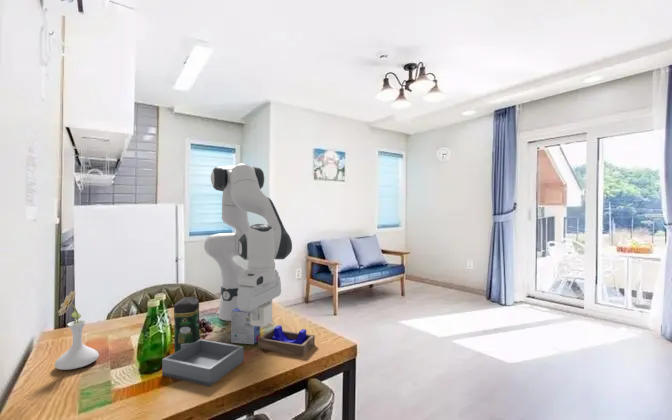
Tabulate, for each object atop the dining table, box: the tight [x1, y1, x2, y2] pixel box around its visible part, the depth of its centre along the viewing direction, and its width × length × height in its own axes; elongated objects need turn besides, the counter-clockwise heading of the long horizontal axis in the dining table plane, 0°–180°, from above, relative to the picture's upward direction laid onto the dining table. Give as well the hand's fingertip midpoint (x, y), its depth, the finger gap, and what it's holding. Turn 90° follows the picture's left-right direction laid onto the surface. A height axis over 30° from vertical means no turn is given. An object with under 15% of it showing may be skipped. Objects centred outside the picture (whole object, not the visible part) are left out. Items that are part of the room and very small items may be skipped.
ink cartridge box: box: [230, 308, 261, 345], centre depth 125 cm, size 10×6×14 cm, turn 78°
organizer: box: [257, 328, 316, 357], centre depth 120 cm, size 10×18×4 cm, turn 70°
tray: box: [161, 338, 245, 387], centre depth 104 cm, size 16×18×5 cm
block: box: [250, 303, 273, 328], centre depth 106 cm, size 5×5×6 cm
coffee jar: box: [173, 296, 201, 353], centre depth 117 cm, size 10×8×19 cm
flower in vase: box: [54, 290, 100, 371], centre depth 106 cm, size 13×11×25 cm
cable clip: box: [272, 325, 307, 345], centre depth 122 cm, size 12×4×6 cm, turn 69°
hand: (261, 316), depth 106 cm, fingers closed on block, 5 cm apart
